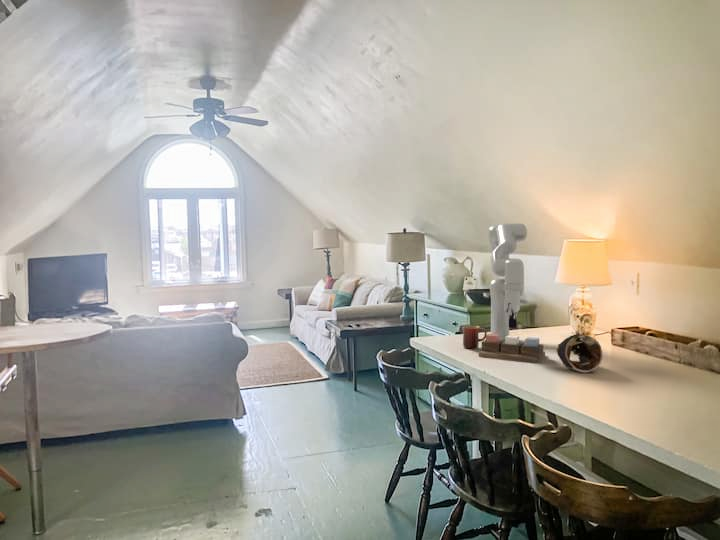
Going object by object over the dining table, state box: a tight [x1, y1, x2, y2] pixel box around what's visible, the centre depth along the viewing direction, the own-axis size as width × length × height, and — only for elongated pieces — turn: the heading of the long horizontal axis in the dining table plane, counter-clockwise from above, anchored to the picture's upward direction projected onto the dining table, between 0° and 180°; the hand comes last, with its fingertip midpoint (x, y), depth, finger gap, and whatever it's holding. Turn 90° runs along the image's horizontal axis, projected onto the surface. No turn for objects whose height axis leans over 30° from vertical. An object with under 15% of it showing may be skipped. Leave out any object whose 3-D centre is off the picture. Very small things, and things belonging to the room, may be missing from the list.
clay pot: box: [556, 333, 603, 373], centre depth 233 cm, size 15×15×25 cm
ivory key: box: [504, 334, 520, 345], centre depth 251 cm, size 5×5×4 cm
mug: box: [461, 325, 487, 350], centre depth 269 cm, size 12×9×10 cm
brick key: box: [485, 333, 500, 343], centre depth 255 cm, size 5×5×4 cm
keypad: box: [478, 339, 546, 364], centre depth 251 cm, size 16×26×6 cm, turn 59°
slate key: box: [524, 336, 540, 347], centre depth 246 cm, size 5×5×4 cm
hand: (512, 327), depth 250 cm, fingers closed
